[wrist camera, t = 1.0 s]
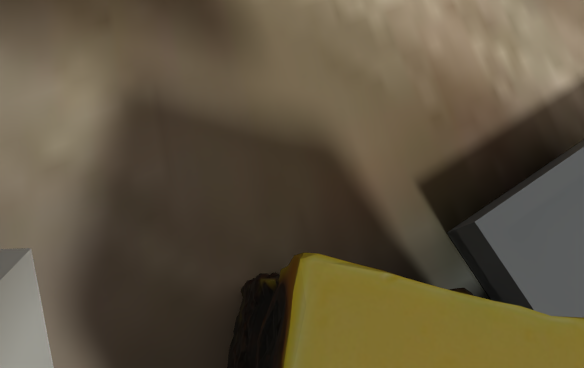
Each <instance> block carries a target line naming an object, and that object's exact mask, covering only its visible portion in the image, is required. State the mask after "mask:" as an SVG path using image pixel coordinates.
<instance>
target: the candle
mask: <svg viewBox="0 0 584 368" xmlns="http://www.w3.org/2000/svg"><path fill="white" fill-rule="evenodd" d="M241 292H242V296H243V299H242V304H241V307H240V311H239V314H238V316H237V319H236V323H235V328H234V337H233V340H232V342H231V345H230V349H229V358H228V366H227V368H584V317H562V316H550V315H547V314H544V313H541V312H537V311H534V310H531V309H528V308H525V307H522V306H517V305H512V304H507V303H502V302H497V301H492V300H488V299H484V298H480V297H476V296H473V294H472V293H471V292H469V291H468V290H467V289H465V288H457V289H450V290H447V289H443V288H439V287H436V286H432V285H429V284H425V283H422V282H418V281H415V280H411V279H408V278H404V277H401V276H398V275H395V274H392V273H389V272H386V271H383V270H380V269H375V268H371V267H367V266H363V265H359V264H355V263H351V262H347V261H344V260H340V259H336V258H333V257H329V256H325V255H321V254H317V253H301V254H298V255H294V257H293V259H292V260H291V262H290V264H289V266H287V267H285V268H283V269H281V271H280V275H278V274H277V273H272V274H271V275H269V274H259V275H258V276H257V277H256V278H253V279H252V280H248V281H247V282H246V283H245V285H244V286H243V287H242V289H241Z"/></svg>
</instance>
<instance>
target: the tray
mask: <svg viewBox="0 0 584 368" xmlns="http://www.w3.org/2000/svg"><path fill="white" fill-rule="evenodd" d="M447 234H448V235H449V237H450V238H451V240H452V241H453V243H454V244H455V246H456V247H457V249H458V250H459V252H460V253H461V255H462V256H463V258H464V259H465V261H466V262H467V264H468V266H469V267H470V269H471V270H472V272H473V273H474V275H475V276H476V278H477V279H478V281H479V282H480V284H481V285H482V287H483V288H484V290H485V291H486V293H487V294H488V296H489V297H490V299H491V300H492V301H497V302H502V303H507V304H512V305H517V306H522V307H525V308H528V309H531V310H534V311H537V312H541V313H544V314H547V315H550V316H562V317H584V140H582V141H581V142H579V143H578V144H576V145H575V146H573V147H572V148H570V149H569V150H568V151H566V152H565V153H563V154H562V155H560V156H559V157H557V158H556V159H554V160H553V161H551V162H550V163H548V164H547V165H545V166H544V167H543V168H541V169H540V170H538V171H537V172H535V173H534V174H532V175H531V176H529V177H528V178H526V179H525V180H523V181H522V182H521V183H519V184H518V185H516V186H515V187H513V188H512V189H510V190H509V191H507V192H506V193H504V194H503V195H501V196H500V197H498V198H497V199H496V200H494V201H493V202H491V203H490V204H488V205H487V206H485V207H484V208H482V209H481V210H479V211H478V212H476V213H475V214H474V215H472V216H471V217H469V218H468V219H466V220H465V221H463V222H462V223H460V224H459V225H457V226H456V227H454V228H453V229H451V230H450V231H449V232H447Z"/></svg>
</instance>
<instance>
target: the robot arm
mask: <svg viewBox="0 0 584 368" xmlns="http://www.w3.org/2000/svg"><path fill="white" fill-rule="evenodd" d="M0 368H54V367H53V362H52V357H51V351H50V346H49V341H48V335H47V330H46V325H45V319H44V314H43V309H42V303H41V298H40V293H39V287H38V282H37V277H36V271H35V266H34V261H33V256H32V250H31V248H28V249H0Z"/></svg>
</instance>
